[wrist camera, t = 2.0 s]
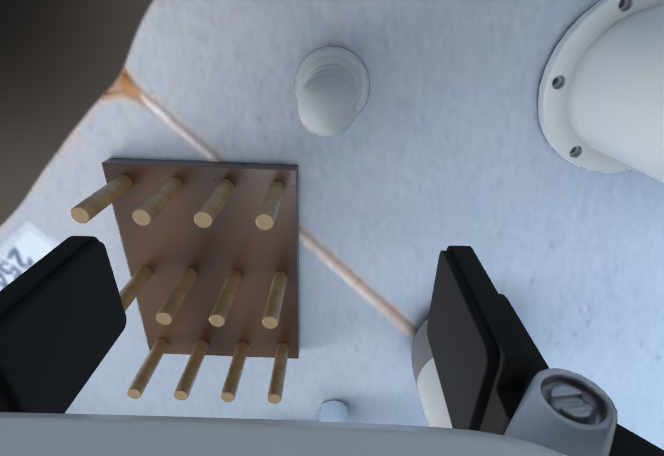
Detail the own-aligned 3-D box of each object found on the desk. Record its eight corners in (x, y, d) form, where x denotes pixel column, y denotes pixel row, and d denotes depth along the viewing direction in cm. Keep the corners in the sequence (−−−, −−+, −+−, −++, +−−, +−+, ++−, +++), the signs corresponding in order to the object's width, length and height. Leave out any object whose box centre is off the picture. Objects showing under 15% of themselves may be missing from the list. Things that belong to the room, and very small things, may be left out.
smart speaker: (497, 287, 36) (580, 425, 23) (506, 356, 40) (582, 505, 28) (397, 309, 37) (426, 451, 25) (416, 374, 41) (449, 523, 29)
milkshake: (308, 393, 43) (301, 488, 34) (356, 397, 43) (360, 493, 34) (305, 419, 45) (297, 515, 36) (350, 423, 45) (353, 520, 37)
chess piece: (296, 123, 29) (280, 161, 21) (293, 45, 27) (273, 54, 19) (367, 124, 29) (377, 162, 21) (371, 46, 27) (384, 56, 19)
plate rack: (297, 165, 31) (287, 202, 24) (299, 349, 40) (291, 411, 34) (109, 158, 31) (49, 193, 24) (155, 344, 40) (120, 405, 34)
